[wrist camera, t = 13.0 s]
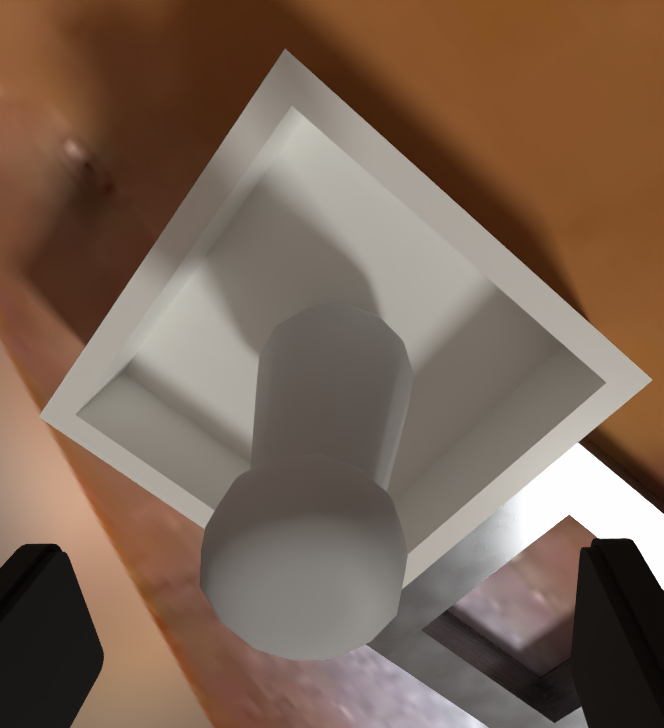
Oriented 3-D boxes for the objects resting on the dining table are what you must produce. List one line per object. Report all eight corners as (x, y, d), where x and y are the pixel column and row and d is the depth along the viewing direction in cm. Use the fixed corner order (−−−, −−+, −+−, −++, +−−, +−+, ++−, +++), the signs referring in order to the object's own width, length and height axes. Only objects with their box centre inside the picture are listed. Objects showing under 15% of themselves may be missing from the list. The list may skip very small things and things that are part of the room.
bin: (307, 71, 19) (284, 48, 15) (594, 330, 22) (652, 380, 17) (102, 365, 24) (38, 416, 20) (357, 547, 27) (353, 629, 22)
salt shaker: (252, 392, 23) (117, 657, 11) (292, 267, 21) (180, 429, 9) (379, 436, 24) (382, 740, 12) (432, 318, 21) (504, 541, 9)
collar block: (554, 410, 24) (574, 439, 21) (758, 582, 26) (795, 625, 24) (348, 591, 28) (346, 630, 26) (538, 722, 31) (551, 769, 28)
